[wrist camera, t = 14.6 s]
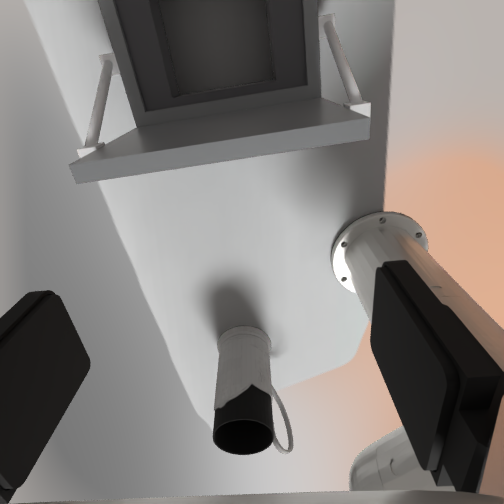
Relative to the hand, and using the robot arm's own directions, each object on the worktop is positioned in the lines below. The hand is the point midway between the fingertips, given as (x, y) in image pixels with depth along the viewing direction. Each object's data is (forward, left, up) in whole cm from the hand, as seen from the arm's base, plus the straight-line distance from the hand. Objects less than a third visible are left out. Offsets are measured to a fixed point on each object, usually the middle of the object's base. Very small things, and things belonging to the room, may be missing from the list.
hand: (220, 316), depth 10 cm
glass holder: (-15, +32, -31) cm, 47 cm away
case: (+6, -8, -31) cm, 32 cm away
